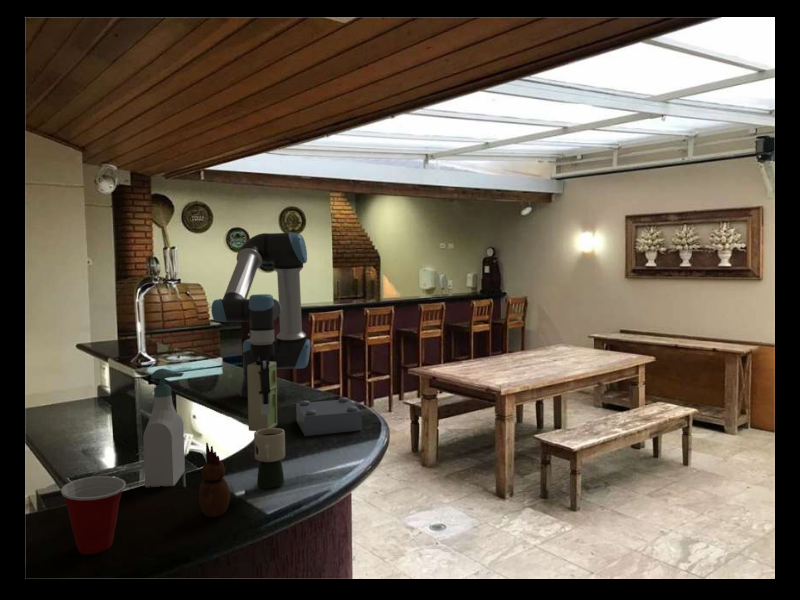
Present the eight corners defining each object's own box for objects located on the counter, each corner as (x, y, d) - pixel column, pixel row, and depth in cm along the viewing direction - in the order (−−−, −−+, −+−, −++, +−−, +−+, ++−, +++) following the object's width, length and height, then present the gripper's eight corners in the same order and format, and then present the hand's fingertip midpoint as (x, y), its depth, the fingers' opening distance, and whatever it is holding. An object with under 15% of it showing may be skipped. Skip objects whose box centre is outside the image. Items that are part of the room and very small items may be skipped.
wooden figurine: (196, 511, 126) (193, 442, 125) (223, 505, 129) (220, 437, 128) (205, 523, 120) (203, 451, 119) (233, 515, 124) (231, 445, 123)
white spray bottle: (181, 486, 140) (177, 372, 139) (145, 488, 139) (140, 373, 138) (192, 470, 151) (188, 364, 150) (158, 471, 150) (154, 365, 149)
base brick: (296, 421, 197) (296, 400, 197) (349, 416, 203) (349, 396, 202) (304, 435, 180) (304, 413, 180) (361, 430, 186) (361, 408, 185)
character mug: (259, 477, 146) (258, 425, 145) (288, 476, 146) (287, 425, 145) (251, 495, 135) (249, 439, 134) (282, 494, 135) (281, 438, 134)
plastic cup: (114, 560, 106) (111, 494, 105) (51, 562, 105) (48, 496, 104) (137, 532, 116) (135, 473, 116) (80, 534, 116) (78, 474, 115)
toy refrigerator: (269, 432, 185) (268, 365, 183) (248, 431, 186) (246, 365, 185) (280, 425, 193) (278, 361, 191) (259, 424, 194) (257, 361, 193)
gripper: (247, 338, 198) (249, 401, 200) (252, 349, 175) (254, 419, 176) (270, 337, 201) (272, 399, 202) (278, 347, 177) (280, 417, 178)
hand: (263, 408), depth 189 cm, fingers open, 13 cm apart
